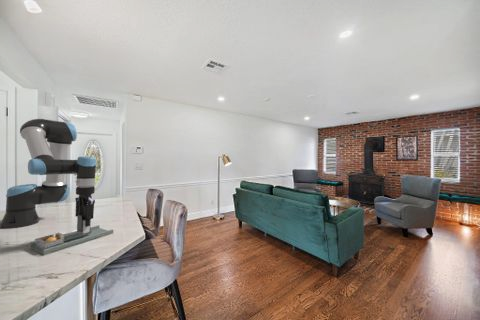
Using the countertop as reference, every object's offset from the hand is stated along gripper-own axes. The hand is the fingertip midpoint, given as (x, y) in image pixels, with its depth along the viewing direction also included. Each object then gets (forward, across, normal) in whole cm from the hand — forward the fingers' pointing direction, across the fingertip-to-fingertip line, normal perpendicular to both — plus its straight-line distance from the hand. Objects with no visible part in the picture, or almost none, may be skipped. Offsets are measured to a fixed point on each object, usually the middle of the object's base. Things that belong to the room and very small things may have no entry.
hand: (83, 231), depth 97 cm
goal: (+3, 0, -13) cm, 14 cm away
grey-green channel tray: (+3, 0, -3) cm, 4 cm away
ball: (+1, 0, -12) cm, 12 cm away
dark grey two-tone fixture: (+2, 0, -4) cm, 4 cm away
